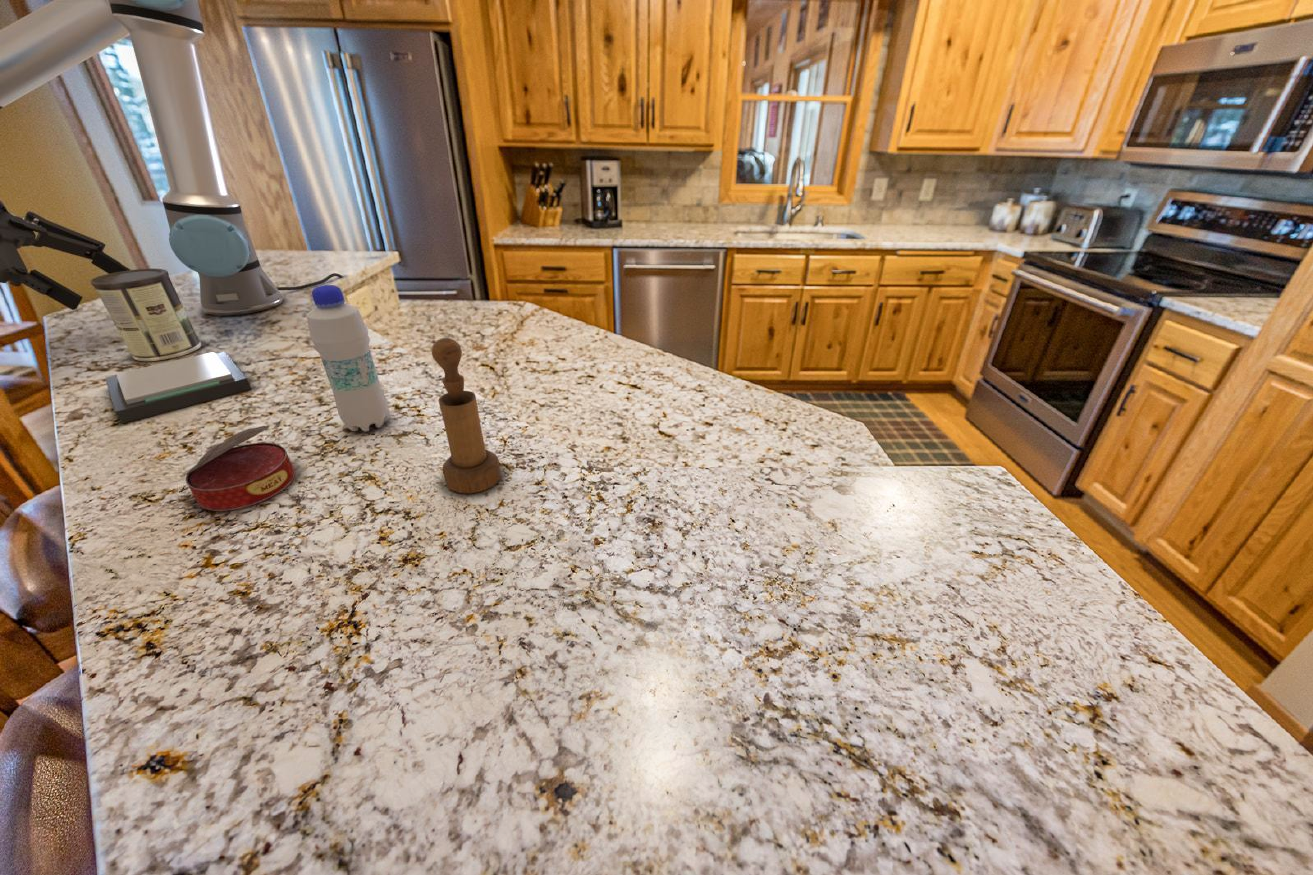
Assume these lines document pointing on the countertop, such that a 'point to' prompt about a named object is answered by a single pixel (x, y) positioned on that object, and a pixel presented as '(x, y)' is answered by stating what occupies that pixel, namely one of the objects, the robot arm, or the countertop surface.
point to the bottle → (347, 359)
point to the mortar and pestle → (463, 428)
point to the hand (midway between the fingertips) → (109, 292)
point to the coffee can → (147, 313)
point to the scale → (174, 385)
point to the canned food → (239, 473)
